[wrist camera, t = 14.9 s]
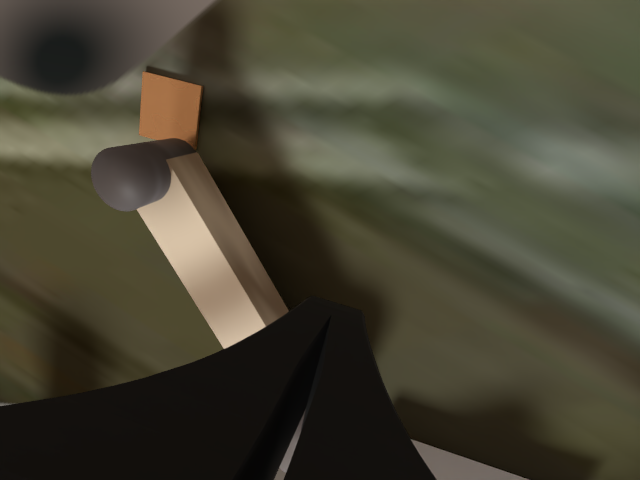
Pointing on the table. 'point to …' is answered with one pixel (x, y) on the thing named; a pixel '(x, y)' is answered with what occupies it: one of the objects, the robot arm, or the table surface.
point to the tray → (459, 466)
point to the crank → (194, 236)
